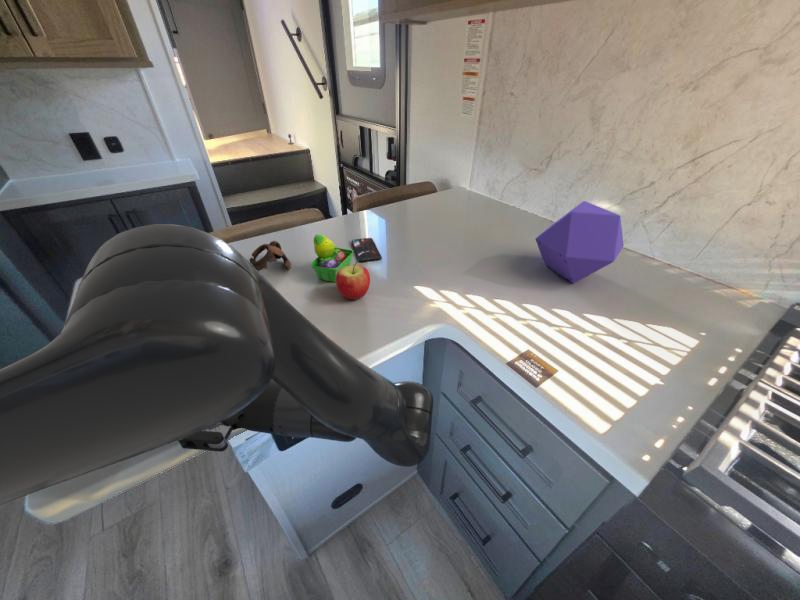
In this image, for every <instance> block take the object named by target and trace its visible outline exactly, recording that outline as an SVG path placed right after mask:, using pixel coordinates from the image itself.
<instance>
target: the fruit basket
mask: <svg viewBox="0 0 800 600" xmlns="http://www.w3.org/2000/svg"><path fill="white" fill-rule="evenodd" d="M313 246H314V253H315V254H316V256H317V257H316V258H315V259H314V260H313V261H312V262H311V263H310V266H311V267H312V269H313V271H314V273H315V274H316V277H317V278H318V279H319V280H323V281H326V282H332V283H336V275H337V272H338V271H339V270H340V269H341V268H343V267H346V266H350V265H351V263H352V257H353V255H354V250H352V249H348V248H342V247H336V245H335V242H333V241H332V240H331V239H329V238H328V237H326V236H325V235H323V234H315V235H314V237H313Z"/></svg>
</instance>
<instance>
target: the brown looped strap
mask: <svg viewBox="0 0 800 600" xmlns="http://www.w3.org/2000/svg"><path fill="white" fill-rule="evenodd" d="M265 250H266V253H265V254H264V256H262V258H260V259H258V260H256V259H257V257H258V256H259V255H260V254H261V253H262V252H263V251H265ZM251 256H252V257H250V258H249V261H248V262H249V263H250V264H251V265H252V266H253V267H254V268H255V269H256V270H257V271H261V270H264V269H265V270H269V268H268V263H276V262H278V260H281V259H282V260H283V261H282V262H283V263H284V267H285V268H286V270H287V271H290V269H292V268H291V267H292V263H291V261H290V260H289V258H288V257H287V255H286V254H285V252H284V251H283V249H282V246H281V244H280V243H279V242H278V241H277V240H272V241H270V243H264V244H260V245H259V246H258V247H257V248H256V249H254V250H253V252H252V253H251Z"/></svg>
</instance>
